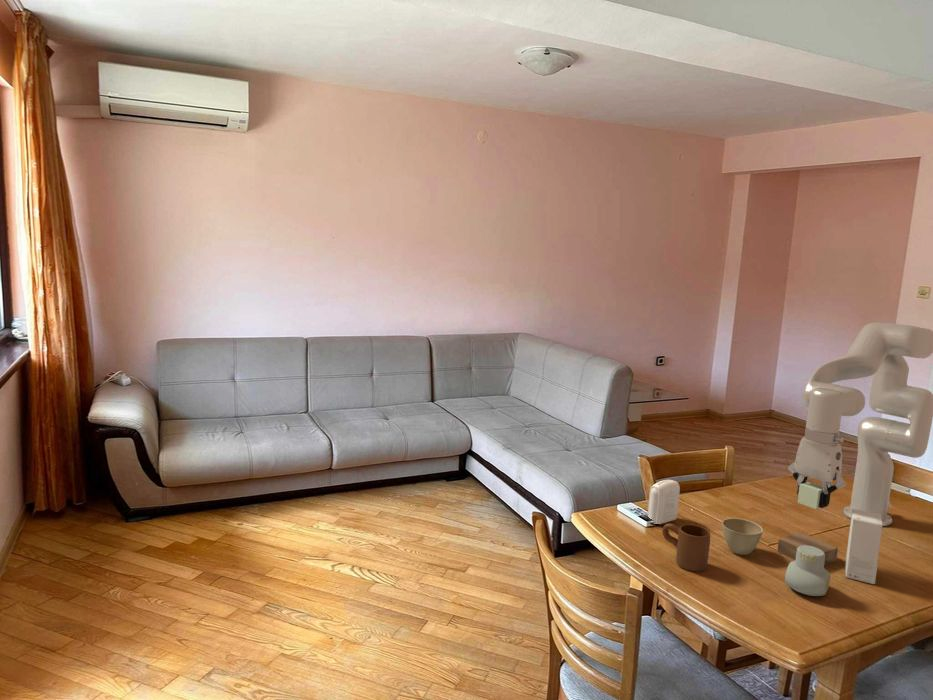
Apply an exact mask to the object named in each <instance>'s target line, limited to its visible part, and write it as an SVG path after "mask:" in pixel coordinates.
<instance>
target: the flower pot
mask: <svg viewBox="0 0 933 700" xmlns="http://www.w3.org/2000/svg"><path fill="white" fill-rule="evenodd" d="M721 528H722V533H723V534H722V535H723V537H724V540H725V543H726V546H727V548H728V549H729V551H730V552H731V553H733V554H736V555H738V556H739V555H740V556H747V555H750V554H751V553H752V552H753V551H754V550H755V548H756V547H757V545H758V544H759V542H760V540H761V538H762V535H763V531H764V529H763V527H762V526H761V525H759V524H758V523H756V522H755V521H751V520H748V519H744V518H736V517H728V518H724V519H723V520H722V521H721Z"/></svg>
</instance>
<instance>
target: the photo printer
mask: <svg viewBox="0 0 933 700" xmlns="http://www.w3.org/2000/svg"><path fill="white" fill-rule="evenodd" d="M680 490H681V487H680V484H679V482H678V481H676V480H672V479H664V480H661V481H657V482H656V483H655V484H653V485H652V486H650V488H649V494H648V495H649V496H648V505H647V515H646V517H647V516H648V517H649V518H650V519H652V520H654V521H656V523H657V524H659V525H663V524H667V523H669V522H672V521H675V520H677V519H678V510H679V500H680V492H681V491H680Z"/></svg>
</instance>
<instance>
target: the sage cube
mask: <svg viewBox="0 0 933 700" xmlns="http://www.w3.org/2000/svg"><path fill="white" fill-rule="evenodd" d="M821 493H823V489H822V484H820V483H816V482H813V481H807V482H806V483H803V484H800V486H799V493H798V495H797V498H798V499H797V503H798V504H801V505H803V506H806V507H808V508H812V509H814V510H818V509H820V508H819V501H820V494H821Z"/></svg>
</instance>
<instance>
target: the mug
mask: <svg viewBox="0 0 933 700" xmlns="http://www.w3.org/2000/svg"><path fill="white" fill-rule="evenodd" d="M669 530H671V531H672V532H673V533H675V534H676V535H677V538H676V537H674V536H672V535H670V533H669ZM661 532H662V535H663V538H664V539H665V541H667V542H668V543H669V544H672V545H673V546H674V547H675V548H676V557H675V561H676V564H677V565H678V566H679V567H680V568H681V569H683V568H684V569H683V570H686V571H689V570H690V571H689V572H694V571H696V572H698V573H699V571H700V572H703V571H705V570H706V569H707V568H708V563H709V557H710V555H709V554H710V545H711V532H710V530H709V529H707V528H705V527H703V526H701V525H697V524H693V523H692V524H690V523H688V524H682V525H680V527H678V526H676V525H675V524H673V523H665V524H664V526H663V527H662V531H661Z"/></svg>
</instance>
